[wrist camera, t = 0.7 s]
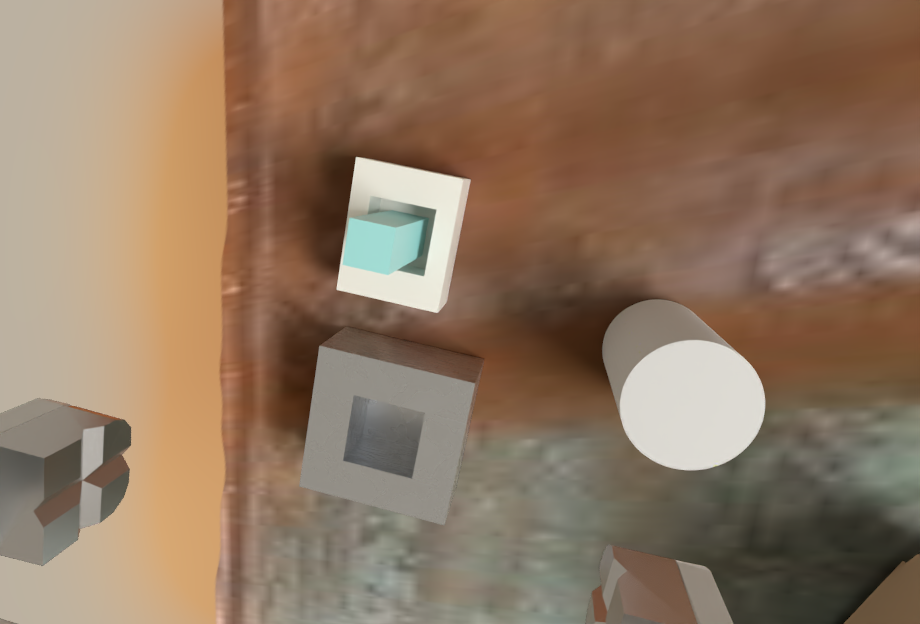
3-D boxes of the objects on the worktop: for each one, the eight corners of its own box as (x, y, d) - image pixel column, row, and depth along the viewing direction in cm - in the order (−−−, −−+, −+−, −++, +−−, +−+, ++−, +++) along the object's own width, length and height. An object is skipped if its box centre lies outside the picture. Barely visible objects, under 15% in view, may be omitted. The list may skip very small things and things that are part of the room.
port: (346, 326, 49) (319, 345, 43) (484, 359, 48) (475, 383, 42) (327, 452, 52) (299, 486, 46) (456, 486, 51) (444, 525, 45)
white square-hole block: (372, 159, 46) (356, 156, 42) (470, 179, 45) (463, 179, 41) (353, 281, 48) (336, 289, 44) (446, 302, 47) (437, 312, 43)
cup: (588, 379, 47) (600, 444, 35) (623, 285, 45) (648, 321, 33) (685, 411, 46) (731, 488, 35) (726, 318, 44) (789, 366, 33)
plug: (392, 210, 45) (349, 217, 36) (429, 218, 45) (396, 227, 35) (385, 247, 46) (342, 264, 36) (422, 255, 46) (388, 275, 36)
